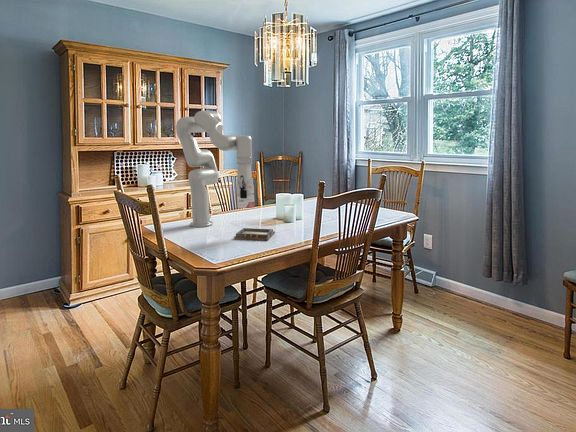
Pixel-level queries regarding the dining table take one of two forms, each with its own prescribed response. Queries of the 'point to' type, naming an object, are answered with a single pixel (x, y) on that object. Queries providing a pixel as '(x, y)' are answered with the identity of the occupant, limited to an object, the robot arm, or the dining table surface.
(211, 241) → the dining table surface
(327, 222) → the dining table surface
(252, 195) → the ink cartridge box
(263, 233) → the dock
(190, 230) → the dining table surface
